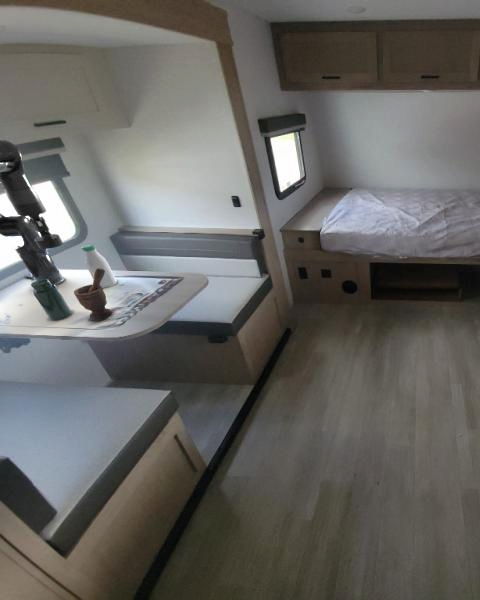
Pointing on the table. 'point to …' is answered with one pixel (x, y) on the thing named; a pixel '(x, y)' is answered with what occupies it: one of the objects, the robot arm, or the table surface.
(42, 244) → the lid
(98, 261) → the milk bottle
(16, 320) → the table surface
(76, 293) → the mortar and pestle
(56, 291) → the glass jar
